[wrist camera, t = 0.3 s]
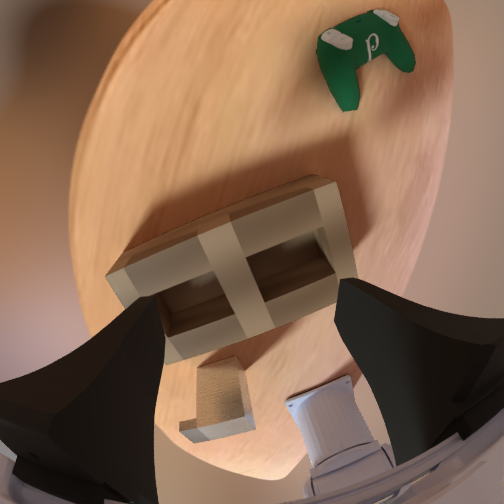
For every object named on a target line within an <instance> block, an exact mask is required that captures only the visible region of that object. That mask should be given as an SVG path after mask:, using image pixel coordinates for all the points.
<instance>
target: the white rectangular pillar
mask: <svg viewBox="0 0 504 504" xmlns="http://www.w3.org/2000/svg"><path fill="white" fill-rule="evenodd" d="M255 429H256V427H255V422H254V417H253V412H252V406H251V401H250V396H249V390H248V384H247V379H246V373H245V370H244V368H243V367H242V365H241V363H240V362H239V360H238V359H237V357H236V355H235V356H232V357H230V358H227V359H224V360H220V361H217V362H214V363H211V364H208V365H205V366H201V367H198V368H197V418H196V419H191V420H186V421H181V422H180V424H179V432H181V433H182V434H183V435H184V436H185V437H187V438H188V439H189V440H190V441H192V442H193V443H199V442H204V441H210V440H214V439H219V438H224V437H228V436H232V435H236V434H240V433H244V432H248V431H251V430H255Z"/></svg>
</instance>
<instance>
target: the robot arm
mask: <svg viewBox="0 0 504 504" xmlns="http://www.w3.org/2000/svg"><path fill="white" fill-rule="evenodd" d="M334 322H335V324H336V327H337V329H338V332H339V334H340V336H341V338H342V340H343V342H344V344H345V345H346V347H347V349H348V350H349V352H350V354H351V355H352V357H353V358H354V360H355V362H356V363H357V365H358V366H359V368H360V370H361V371H362V373H363V375H364V376H365V378H366V380H367V381H368V383H369V385H370V387H371V389H372V392H373V394H374V396H375V399H376V401H377V403H378V406H379V409H380V411H381V414H382V417H383V419H384V422H385V425H386V428H387V432H388V435H389V438H390V441H391V445H389V444H386V443H385V444H383V445H381V446H380V444H379V443H378V441H377V440H374V438H373V436H372V434H371V432H370V430H369V428H368V426H367V424H366V423H365V420H364V418H363V416H362V414H361V413H360V411H359V409H358V407H357V405H356V403H355V400H354V393H353V386H352V380H351V377H350V375H346V376H343V377H341V378H339V379H337V380H335V381H332V382H330V383H328V384H325V385H323V386H321V387H318V388H316V389H313V390H311V391H308V392H306V393H303V394H301V395H298V396H296V397H293V398H290V399H288V400H286V401H285V404H286V406H287V408H288V410H289V412H290V413H291V415H292V417H293V419H294V420H295V422H296V424H297V425H298V427H299V429H300V431H301V434H302V437H303V440H304V443H305V446H306V449H307V452H308V455H309V458H310V461H311V464H312V467H313V468H312V469H310V473H311V476H310V477H308V478H306V481H305V483H304V484H303V493H304V497H305V498H304V499H299V500H295V501H290V502H285V503H279V504H373V503H375V502H378V501H380V500H382V499H384V498H386V497H388V496H390V495H392V494H394V495H393V496H392V497H391V498H389V499H388V500H386V501H384V502H382V503H380V504H504V487H503V485H502V482H503V481H504V318H503V319H500V318H498V319H497V318H490V319H489V318H478V317H469V316H463V315H458V314H452V313H448V312H444V311H440V310H436V309H433V308H430V307H426V306H423V305H420V304H418V303H415V302H412V301H410V300H407V299H404V298H402V297H400V296H397V295H395V294H393V293H390V292H388V291H386V290H384V289H381V288H379V287H377V286H375V285H372V284H370V283H368V282H365V281H363V280H360V279H357V278H354V277H352V278H344V279H340V282H339V289H338V297H337V304H336V311H335V317H334ZM165 343H166V337H165V333H164V329H163V326H162V322H161V318H160V313H159V309H158V305H157V300H156V296H143V297H139V298H138V299H137V300H135V301H134V302H133V303H132V304H131V305H130V306H129V307H127V308H126V309H125V310H124V311H123V312H122V313H121V314H120V315H119V316H117V317H116V318H115V319H114V320H113V321H112V322H111V323H110V324H108V325H107V326H106V327H105V328H103V329H102V330H101V331H100V332H99V333H97V334H96V335H95V336H94V337H92V338H91V339H90V340H88V341H87V342H86V343H84V344H83V345H81V346H80V347H79V348H77V349H75V350H74V351H72V352H71V353H69V354H68V355H66V356H64V357H62V358H60V359H58V360H57V361H55V362H53V363H52V364H49V365H47V366H46V367H43V368H41V369H39V370H37V371H35V372H32V373H29V374H27V375H24V376H21V377H18V378H15V379H12V380H9V381H5V382H2V383H0V440H1V441H2V442H3V443H4V444H5V445H6V446H7V447H8V448H9V449H10V450H11V451H13V452H14V453H15V454H16V455H17V459H16V462H14V461H13V460H11V459H10V458H8V457H6V456H5V455H3V454H1V453H0V504H159V502H158V496H157V488H156V480H155V466H154V415H155V407H156V401H157V395H158V390H159V385H160V380H161V374H162V369H163V364H164V358H165ZM429 472H430V473H429ZM427 473H429V474H428V475H427V476H425V477H424V478H422V479H421V480H419V481H417V482H416V483H414V484H413V485H411V482H413V481H415V480H417V479H419V478H420V477H422V476H424V475H426V474H427Z"/></svg>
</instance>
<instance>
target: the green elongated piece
mask: <svg viewBox="0 0 504 504" xmlns="http://www.w3.org/2000/svg"><path fill="white" fill-rule="evenodd" d="M399 20H400V18H399V17H398V16H396V15H394V14H393V13H390V12H389V11H386V10H382V9H374V10H371V11H368V12H367V13H364V14H361V15H358V16H355V17H353V18H351V19H349V20H346V21H344V22H342V23H340V24H338V25H337V26H335V27H333V29H332V28H329V29H327V30H326V31H324V32H323V33H322V34H321V35H320V36H318V42H317V49H316V54H317V56H318V61H319V65H320V68H321V71H322V73H323V75H324V78H325V80H326V82H327V84H328V87H329V89H330V91H331V93H332V95H333V96H334V98H335V100H336V102H337V103H338V105H339V107H340V108H341V110H342V111H343V112H344V111H352V110H357V109H358V106H359V99H360V93H359V85H358V79H357V74H356V69H357V68H359V67H360V66H362V65H364V64H365V63H367V62H369V61H370V60H372V59H374V58H376V57H377V56H379V55H381V54H383V53H385V54H386V55H387V56H388V58H389V59H390V60H391V61H392V62H393V64H394V65H395V66H396V67H397V68H399V69H400V70H401V71H403V72H407V73H410V72H412V71H413V70H414V67H415V64H416V62H415V55H414V53H413V51H412V48H411V46H410V44H409V42H408V41H407V39H406V37H405V36H404V34H403V32H402V31H401V29H400V27H399V22H398V21H399Z"/></svg>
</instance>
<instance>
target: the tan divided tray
mask: <svg viewBox="0 0 504 504" xmlns="http://www.w3.org/2000/svg"><path fill="white" fill-rule="evenodd" d="M105 277H106V279H107V281H108V282H109V284H110V286H111V287H112V289H113V291H114V292H115V294H116V295H117V297H118V299H119V300H120V302H121V303H122V305H123V306H124V308H125V309H126V308H127V307H129V306H130V305H131V304H132V303H133V302H134V301H135V300H137V299H138V298H139V297H143V296H156V300H157V305H158V309H159V313H160V318H161V322H162V326H163V329H164V333H165V337H166V343H165V358H164V363H165V364H166V365H169V364H172V363H175V362H179V361H182V360H185V359H189V358H192V357H195V356H198V355H201V354H205V353H208V352H211V351H214V350H217V349H220V348H223V347H225V346H228V345H231V344H234V343H237V342H240V341H243V340H245V339H248V338H251V337H253V336H256V335H259V334H261V333H264V332H267V331H269V330H272V329H274V328H277V327H280V326H282V325H285V324H287V323H290V322H292V321H294V320H297V319H299V318H302V317H304V316H306V315H309V314H311V313H313V312H316V311H318V310H320V309H323V308H325V307H327V306H329V305H332V304H334V303H336V302H337V297H338V289H339V282H340V279H344V278H352V277H354V278H357V279H358V275H357V270H356V264H355V259H354V254H353V249H352V244H351V240H350V235H349V230H348V226H347V222H346V218H345V213H344V209H343V205H342V201H341V197H340V194H339V190H338V186H337V183H336V181H333V180H330V179H327V178H323V177H320V176H317V175H313V174H312V175H309V176H306V177H303V178H301V179H298V180H295V181H292V182H289V183H287V184H284V185H281V186H279V187H276V188H273V189H271V190H268V191H265V192H263V193H260V194H258V195H255V196H252V197H250V198H247V199H245V200H242V201H240V202H237V203H235V204H232V205H230V206H227V207H225V208H222V209H220V210H218V211H215V212H213V213H210V214H208V215H206V216H203V217H201V218H198V219H196V220H194V221H191V222H189V223H187V224H184V225H182V226H180V227H178V228H175V229H173V230H171V231H169V232H166V233H164V234H162V235H160V236H157V237H155V238H153V239H151V240H149V241H146V242H144V243H142V244H140V245H138V246H136V247H134V248H131V249H129V250H127V251H125V252H123V253H122V254H121V256H120V257H119V258H118V260H117V261H116V262H115V264H114V265H113V266H112V268H111V269H110V270H109V272H108V273H107V274H106V276H105Z"/></svg>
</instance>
